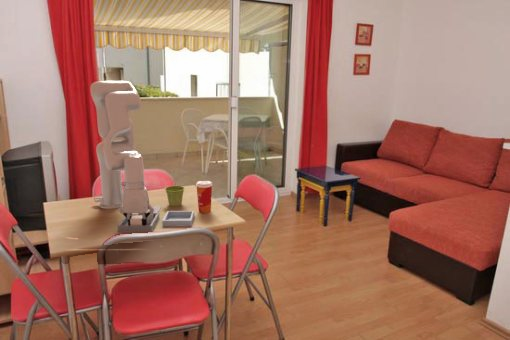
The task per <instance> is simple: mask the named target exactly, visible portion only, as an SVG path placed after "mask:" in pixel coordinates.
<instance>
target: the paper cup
mask: <svg viewBox="0 0 510 340" xmlns="http://www.w3.org/2000/svg"><path fill="white" fill-rule="evenodd" d="M195 186H196V194H197V195H196V196H197V207H198V213H201V214H208V213H210V212H211V211H212V194H213V193H212V192H213V191H212V189H213V182H212V181H209V180H199V181H197V182H196V183H195Z"/></svg>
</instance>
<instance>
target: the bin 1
mask: <svg viewBox="0 0 510 340" xmlns="http://www.w3.org/2000/svg"><path fill="white" fill-rule="evenodd" d="M159 220H160V212H158V213H154V219H153V221H152V223H147V225H132V226H128V219H127V218H126V217H125V216H123V219H122V220H121V221H120V222H119V224H118V225H117V232H118V233H146V232H147V233H149V232H150V233H152V232H153V231H154V229H155V228H156V226H157V223H158V222H159Z"/></svg>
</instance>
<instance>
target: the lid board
mask: <svg viewBox="0 0 510 340" xmlns="http://www.w3.org/2000/svg"><path fill="white" fill-rule="evenodd" d="M151 206H152V205H151ZM152 207H153V209H154V213H160V212H159V211H160V209H161V208H162V206H161V205H159V206H158V205H157V206H156V205H155V206H152Z"/></svg>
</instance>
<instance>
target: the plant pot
mask: <svg viewBox="0 0 510 340" xmlns="http://www.w3.org/2000/svg"><path fill="white" fill-rule="evenodd" d="M184 190H185V187H184V186H183V185H171V186H166V187H165V188H164V191H165V193H166V196H167V201H168V206H170V207H178V206H179V207H180V206H182V205H183V195H184Z"/></svg>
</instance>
